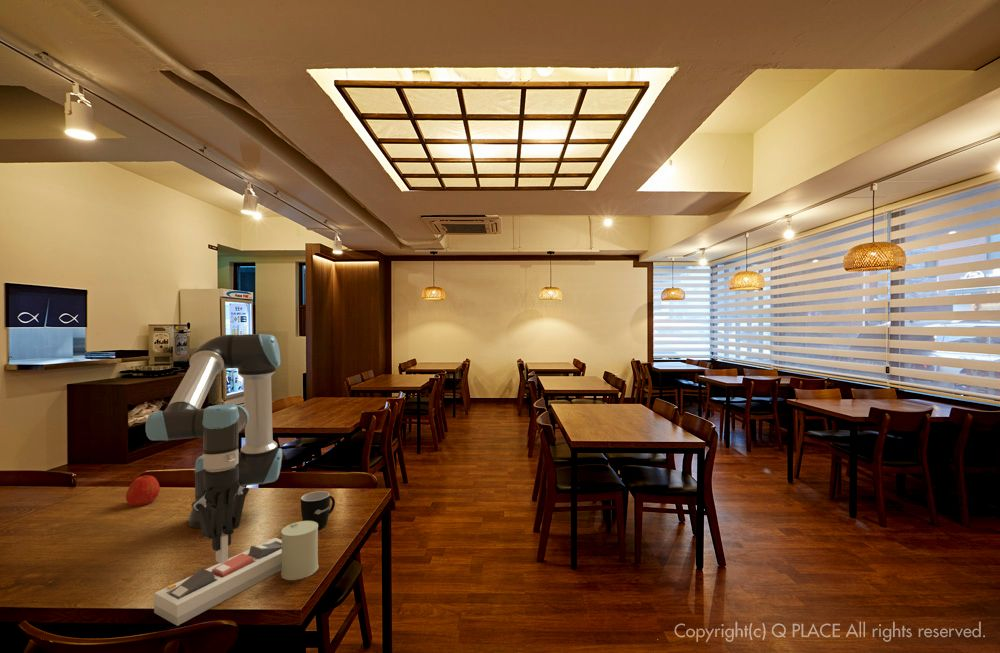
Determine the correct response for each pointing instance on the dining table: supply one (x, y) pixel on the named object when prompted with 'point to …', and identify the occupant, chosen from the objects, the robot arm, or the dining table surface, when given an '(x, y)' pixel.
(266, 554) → the rocker
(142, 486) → the apple
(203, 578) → the rocker
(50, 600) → the dining table surface
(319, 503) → the mug
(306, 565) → the can
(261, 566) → the strip
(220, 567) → the rocker mid
